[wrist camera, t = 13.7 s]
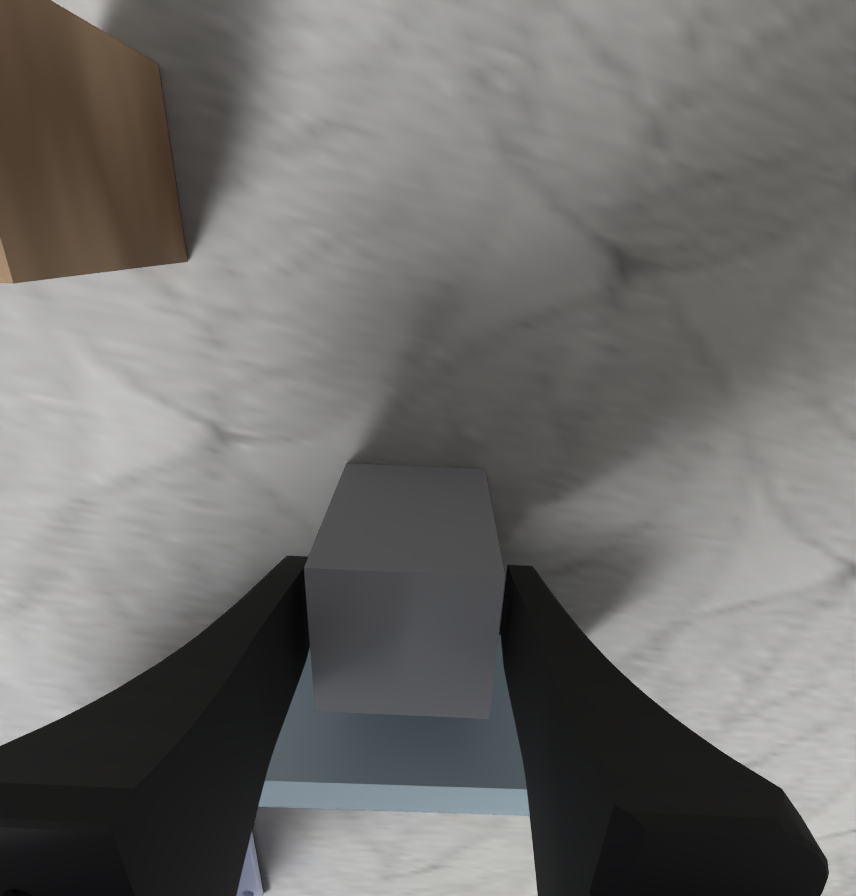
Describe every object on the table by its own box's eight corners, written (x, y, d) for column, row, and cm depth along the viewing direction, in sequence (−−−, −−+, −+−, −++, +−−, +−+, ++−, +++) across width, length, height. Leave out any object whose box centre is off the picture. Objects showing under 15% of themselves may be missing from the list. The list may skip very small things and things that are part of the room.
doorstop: (475, 580, 16) (489, 719, 12) (350, 575, 16) (315, 711, 12) (485, 467, 15) (505, 576, 10) (347, 462, 15) (304, 567, 10)
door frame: (266, 698, 18) (200, 876, 13) (198, 695, 18) (106, 872, 13) (181, 64, 11) (-48, -82, 6) (65, 60, 11) (-262, -88, 6)
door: (212, 671, 18) (130, 826, 13) (202, 626, 17) (112, 775, 12) (561, 681, 17) (604, 842, 13) (568, 636, 17) (617, 792, 12)
